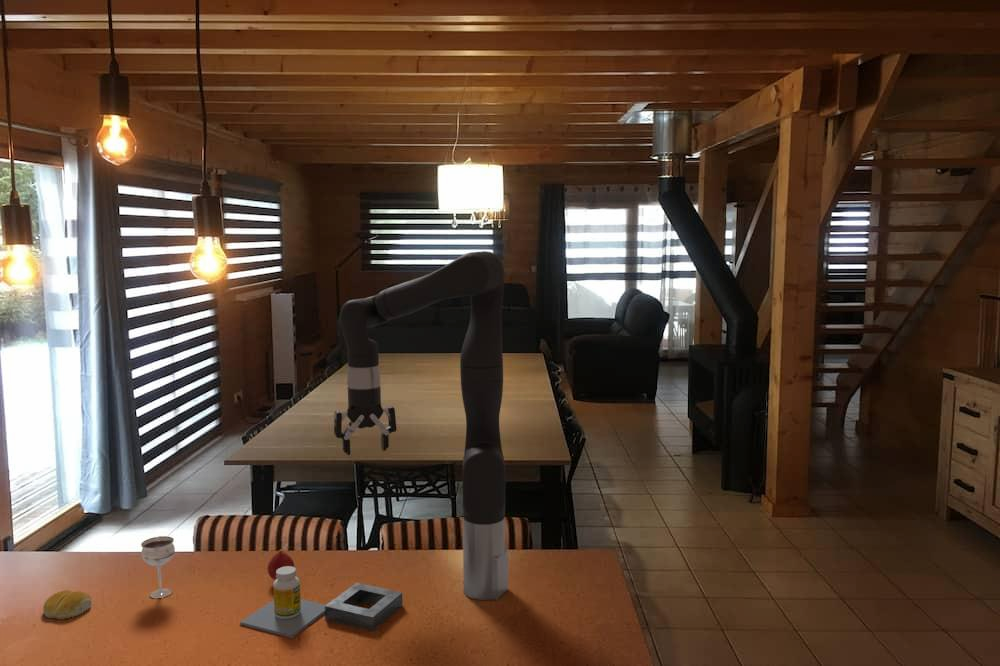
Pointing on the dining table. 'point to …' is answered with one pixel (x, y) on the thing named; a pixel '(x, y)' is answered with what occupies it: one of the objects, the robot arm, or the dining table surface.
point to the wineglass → (158, 558)
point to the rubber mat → (284, 627)
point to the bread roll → (66, 604)
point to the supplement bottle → (286, 593)
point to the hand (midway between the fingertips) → (366, 452)
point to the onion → (279, 563)
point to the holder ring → (369, 619)
